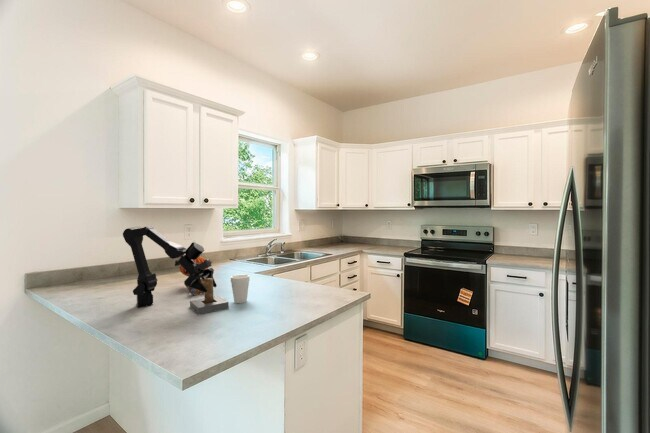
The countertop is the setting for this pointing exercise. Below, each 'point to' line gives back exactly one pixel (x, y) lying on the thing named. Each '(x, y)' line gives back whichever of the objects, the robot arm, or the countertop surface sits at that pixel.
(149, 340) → the countertop surface
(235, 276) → the foam cup
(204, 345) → the countertop surface
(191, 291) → the tin
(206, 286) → the peg
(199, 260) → the lantern
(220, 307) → the socket block
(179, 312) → the countertop surface
